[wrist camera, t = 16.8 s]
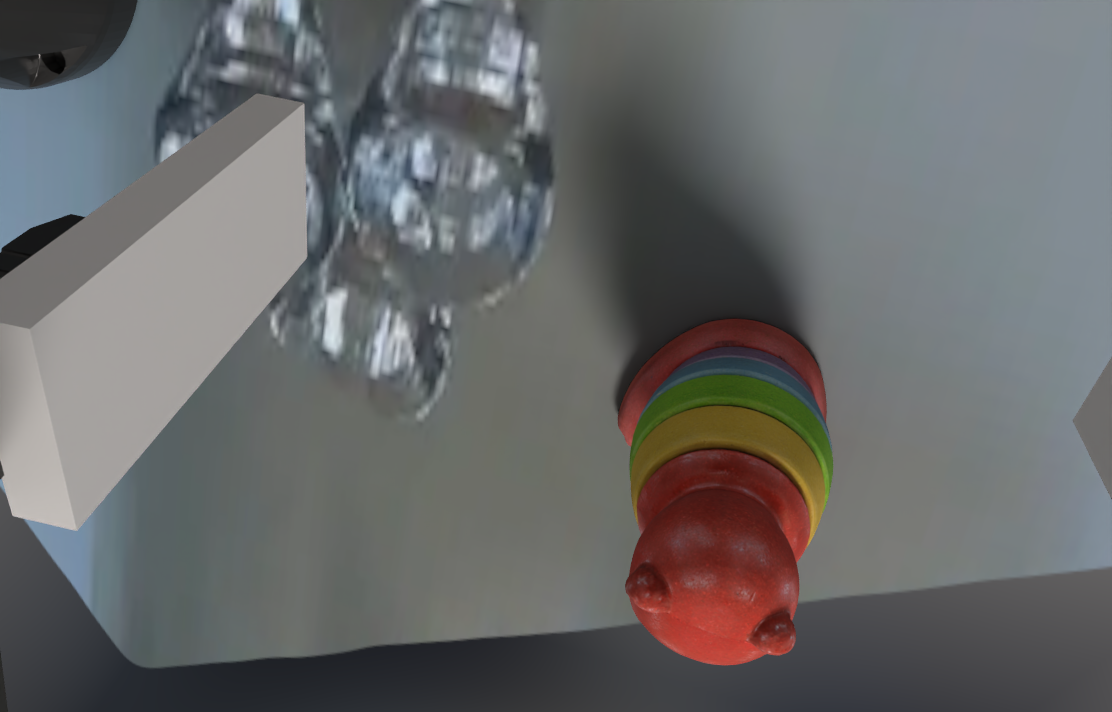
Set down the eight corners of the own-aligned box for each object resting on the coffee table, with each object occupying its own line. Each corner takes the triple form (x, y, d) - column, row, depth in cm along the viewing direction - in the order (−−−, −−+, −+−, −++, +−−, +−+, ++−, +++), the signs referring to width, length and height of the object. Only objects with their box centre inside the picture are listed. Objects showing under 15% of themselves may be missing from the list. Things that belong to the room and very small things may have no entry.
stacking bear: (608, 428, 51) (529, 665, 36) (677, 279, 46) (619, 482, 31) (785, 503, 51) (780, 775, 36) (874, 362, 46) (913, 608, 30)
